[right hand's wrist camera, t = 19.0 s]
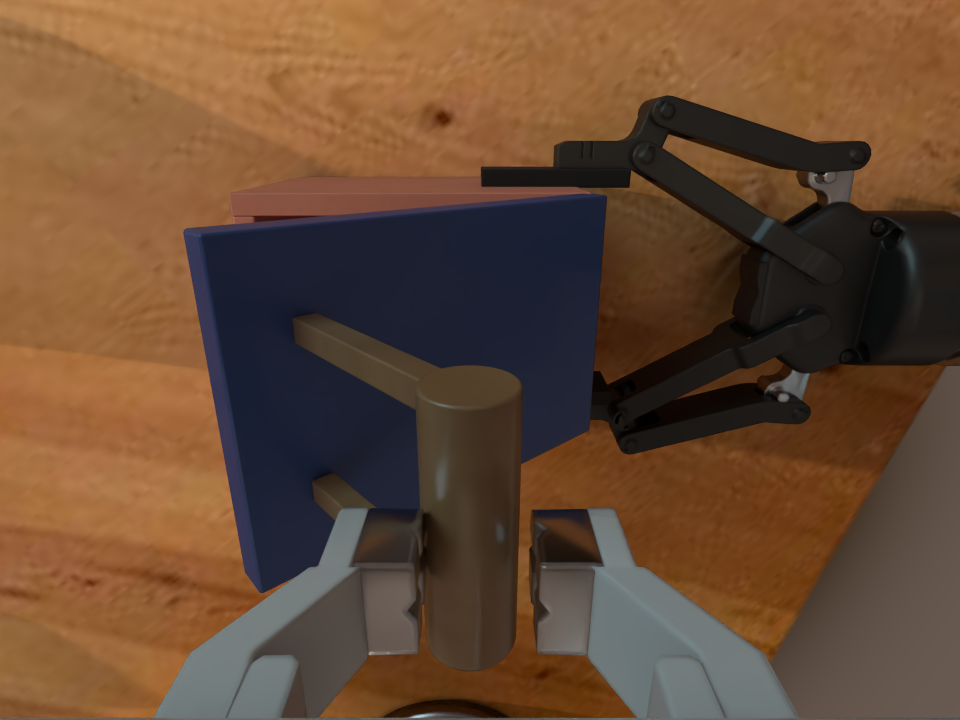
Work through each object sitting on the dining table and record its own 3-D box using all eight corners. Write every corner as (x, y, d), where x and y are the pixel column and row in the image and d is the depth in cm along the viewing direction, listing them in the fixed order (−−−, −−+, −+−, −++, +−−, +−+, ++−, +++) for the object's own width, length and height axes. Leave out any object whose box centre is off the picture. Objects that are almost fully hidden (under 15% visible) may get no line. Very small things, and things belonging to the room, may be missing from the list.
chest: (319, 343, 36) (262, 422, 26) (302, 177, 32) (227, 193, 22) (545, 342, 36) (576, 419, 26) (553, 176, 32) (591, 192, 22)
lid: (244, 573, 17) (416, 810, 11) (181, 228, 13) (386, 299, 7) (568, 421, 26) (759, 504, 20) (582, 192, 22) (819, 211, 16)
